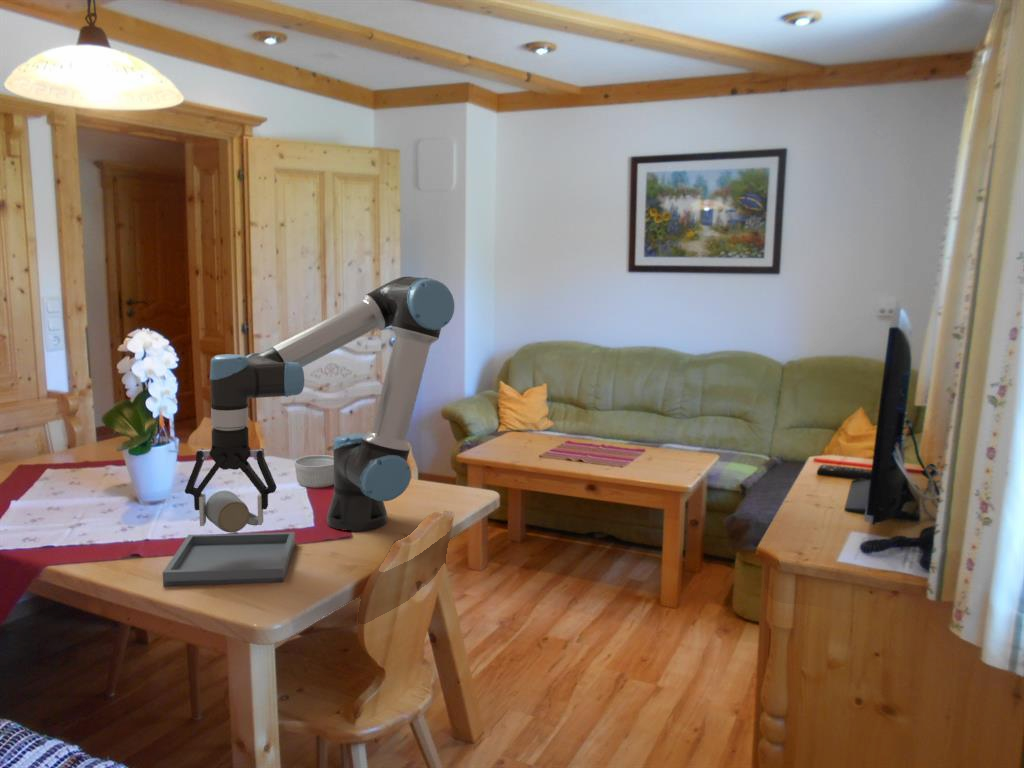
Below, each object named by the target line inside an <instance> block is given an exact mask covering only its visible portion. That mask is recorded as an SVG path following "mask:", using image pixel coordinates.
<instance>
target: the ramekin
mask: <svg viewBox="0 0 1024 768" xmlns="http://www.w3.org/2000/svg"><path fill="white" fill-rule="evenodd" d="M293 465H294V466H293V467H294V468H295V476H296V481H297V483H298V484H299V486H302V487H305V488H314V489H316V488H319V489H320V488H327V487H330V486H334V455H328V454H312V455H305V456H301V457H298V458H297V459H295V460H294V464H293Z"/></svg>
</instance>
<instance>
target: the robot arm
mask: <svg viewBox="0 0 1024 768" xmlns="http://www.w3.org/2000/svg"><path fill="white" fill-rule="evenodd" d="M454 314H455V300H454V297H453V294H452V292H451V291H450V289H449V288H448V287H447V285H445V284H444V283H443V282H441V281H439V280H436V279H433V278H428V277H414V276H401V277H398V278H396V279H393V280H391V281H389V282H387V283H385V284H383V285H381V286H379V287H378V288H376V289H373V290H372V291H370V292H368V293H366V294H364V295H363V296H362V299H361V301H359V302H357V303H355V304H354V305H352V306H350V307H348V308H346V309H344V310H342V311H340V312H338V313H336V314H334V315H333V316H330V317H328V318H326V319H325V320H322V321H321V322H318V323H317V324H315V325H313V326H311V327H308V328H307V329H305V330H303V331H301V332H299V333H297V334H295V335H293V336H292V337H289V338H288V339H285V340H283V341H281V342H280V343H277V344H275V345H274V346H272V347H270V348H268V349H265V350H264V351H261V352H260V353H259V352H258V353H257V352H256V353H250V354H248V355H244V354H243V355H242V354H236V353H235V354H233V353H228V354H225V353H223V354H217V355H215V356H213V357H212V358H211V360H210V367H209V369H210V370H209V371H210V372H209V381H210V382H209V384H210V385H209V386H210V405H211V406H210V421H211V422H210V423H211V424H210V425H211V426H212V428H211V448H210V449H204V448H202V447H201V448H199V449H198V450H197V451H196V453H195V462H194V463H195V464H194V466H193V469H192V471H191V472H190V473H191V474H190V476H189V479H188V482H187V484H186V485H185V486H186V487H185V489H184V493H185V494H187V495H189V494H190V495H191V496H192V497H193V499H194V500H193V501H194V502H193V505H194V506H193V507H194V510H195V511H199V527H204V526H205V525H206V523H207V517H206V514H205V506H206V503H207V501H206V496H207V495H206V493H203V491H204V489H206V487H207V486H208V483H210V481H211V480H212V479H213V478H214V476H215V474H216V473H217V472H218V471H219V469H221V470H222V471H227V470H237V471H238V469H240V470H241V471H242V472H243V473H244V474H245V476H246V477H247V478H248V479H249V481H250V482H251V483H252V484H253V486H254V487H255V489H256V490H257V491H258V495H257V516H258V525H257V526H262V525H263V523H264V510H267V509H268V507H269V494H274V493H275V492H276V490H277V485H276V481H275V479H274V478H273V475H272V473H271V471H270V468H269V466H268V463H267V461H266V459H265V450H264V448H262V447H260V448H258V449H251V448H250V445H249V444H250V443H249V442H250V441H249V439H250V438H249V428H248V424H249V399H256V398H257V399H258V398H260V399H261V398H277V397H278V398H279V397H280V398H281V397H285V398H288V397H291V396H298V395H301V394H302V392H304V391H303V390H304V387H305V373H304V369H303V367H305V366H307V365H309V364H312V363H314V362H315V361H317V360H319V359H320V358H323V357H325V356H326V355H328V354H330V353H332V352H334V351H336V350H338V349H339V348H342V347H343V346H345V345H347V344H349V343H352V342H353V341H356V340H357V339H359V338H361V337H363V336H364V335H366V334H368V333H370V332H372V331H374V330H376V329H377V330H381V331H382V330H385V329H387V328H388V327H390V326H391V327H390V328H391V329H392V331H393V333H394V335H395V337H394V341H393V345H392V348H391V349H392V350H391V353H390V356H389V361H388V364H387V368H386V372H385V376H384V380H383V384H382V387H381V392H380V396H379V400H378V403H377V407H376V412H375V414H374V418H373V423H372V426H371V430H370V432H368V433H367V432H366V433H365V432H362V433H361V432H359V433H349V434H342V435H339V436H337V437H335V439H334V440H333V449H332V452H333V456H334V484H333V496H332V499H331V502H330V505H329V507H328V511H327V515H326V516H327V517H326V520H327V521H326V522H327V525H328V524H329V525H330V526H331V527H330V526H329V525H328V526H329V527H330V528H332V527H334V528H333V529H335V528H338V529H344V530H345V529H346V530H351V531H350V532H361V531H370V530H375V529H377V528H380V527H382V526H384V525H385V524H386V523H387V521H388V514H387V509H386V507H385V503H384V502H388V501H393V500H395V499H396V498H398V497H400V496H401V495H402V494H403V493H404V492H405V491H406V490H407V488H408V487H409V485H410V482H411V478H412V471H411V467H410V464H409V463H408V459H409V458H408V457H409V455H410V450H411V448H410V446H409V443H408V442H407V438H408V437H407V436H408V433H409V429H410V425H411V420H412V417H413V413H414V409H415V406H416V401H417V399H418V394H419V389H420V387H421V386H420V385H421V383H422V378H423V375H424V371H425V367H426V362H427V360H428V355H429V352H430V347H431V345H432V344H434V343H435V342H437V341H439V338H440V335H441V334H440V333H441V331H442V328H444V327H446V325H449V323H450V321H451V320H452V318H453V316H454ZM209 456H210V457H211V459H212V460H213V462H214V464H213V466H212V467H211V469H210V470H209V472H208V473H207V474H206V475H205V477H204V478H203V479H202V481H201V482H200V483H199V485H198V486H197V487H195V485H196V482H197V480H198V477H199V475H200V472H201V469H202V468H203V467H202V466H203V464H204V461H206V460H208V457H209ZM250 456H252V457H253V459H254V460H255V461H256V462H257V465H258V468H259V469H260V473H261V475H262V477H263V480H264V481H265V483H264V482H263V481H262V479H261V478H260V477H259V475H258V474H257V473H256V471H255V470H254V468H253V467H252V466H251V464H250V462H249V461H248V459H249V458H250ZM265 484H266V485H265ZM338 529H337V530H338ZM344 530H343V531H344Z"/></svg>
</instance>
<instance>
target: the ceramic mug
mask: <svg viewBox="0 0 1024 768" xmlns="http://www.w3.org/2000/svg"><path fill="white" fill-rule="evenodd" d="M205 514H206V519H207V520H208V521H209V522H211V523H212V524H214V526H216V527H217V528H218V529H219V530H221V531H223V532H226V533H229V534H233V533H237V532H238V531H242V529H244V528H245V526H247V525H250V526H253V527H255V526H259V525H258V515H256V514H255V513H252V512H250V509H249V508H248V506H247V504H246V503H245V502H244V501H242V499H241V498H239V497H238V496H237V495H236V494H235V493H234V492H232V491H230V490H220V491H217V492H214V493H213V494H212V495H211V496H210V497H208V499H207V501H206V506H205Z"/></svg>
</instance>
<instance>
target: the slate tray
mask: <svg viewBox="0 0 1024 768" xmlns="http://www.w3.org/2000/svg"><path fill="white" fill-rule="evenodd" d="M295 546H296V532H295V531H287V532H285V531H283V532H282V531H281V532H253V533H252V532H251V533H249V532H248V533H247V532H246V533H245V532H244V533H243V532H242V533H213V534H212V533H211V534H209V533H207V534H206V533H205V534H188V535H187V536H186V537H185V539H184V540H183V542H182V543H181V545H180V547H178V549H177V550H176V552H175V554H174V555H173V557H172V558H171V559H170V561H169V563H168V564H167V566H165V568H164V570H163V571H162V587H177V586H179V587H181V586H205V585H206V586H208V585H238V584H262V583H264V584H268V583H284V582H285V579H286V576H287V574H288V573H287V572H288V569H289V565H290V563H291V559H292V556H293V552H294V549H295Z"/></svg>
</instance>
